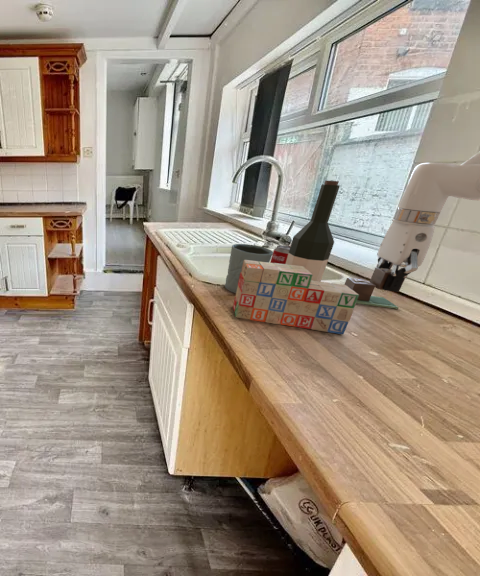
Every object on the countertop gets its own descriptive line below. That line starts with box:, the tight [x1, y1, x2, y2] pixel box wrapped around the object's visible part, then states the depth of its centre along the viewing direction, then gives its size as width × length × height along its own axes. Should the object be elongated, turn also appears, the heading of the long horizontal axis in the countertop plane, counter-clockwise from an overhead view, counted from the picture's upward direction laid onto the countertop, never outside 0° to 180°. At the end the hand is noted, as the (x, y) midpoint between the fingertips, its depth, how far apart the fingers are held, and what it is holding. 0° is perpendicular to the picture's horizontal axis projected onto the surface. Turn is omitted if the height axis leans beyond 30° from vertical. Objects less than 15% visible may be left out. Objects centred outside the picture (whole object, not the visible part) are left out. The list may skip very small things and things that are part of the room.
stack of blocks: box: [232, 260, 359, 335], centre depth 67 cm, size 21×6×12 cm, turn 73°
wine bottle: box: [286, 180, 341, 282], centre depth 74 cm, size 8×8×30 cm
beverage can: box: [269, 245, 291, 264], centre depth 87 cm, size 6×6×12 cm
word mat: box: [356, 295, 399, 310], centre depth 83 cm, size 11×7×1 cm, turn 75°
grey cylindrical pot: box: [224, 243, 273, 294], centre depth 84 cm, size 10×10×12 cm
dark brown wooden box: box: [369, 267, 406, 293], centre depth 80 cm, size 5×5×5 cm
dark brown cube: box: [343, 277, 376, 301], centre depth 83 cm, size 5×5×5 cm
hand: (384, 286), depth 81 cm, fingers closed on dark brown wooden box, 4 cm apart
